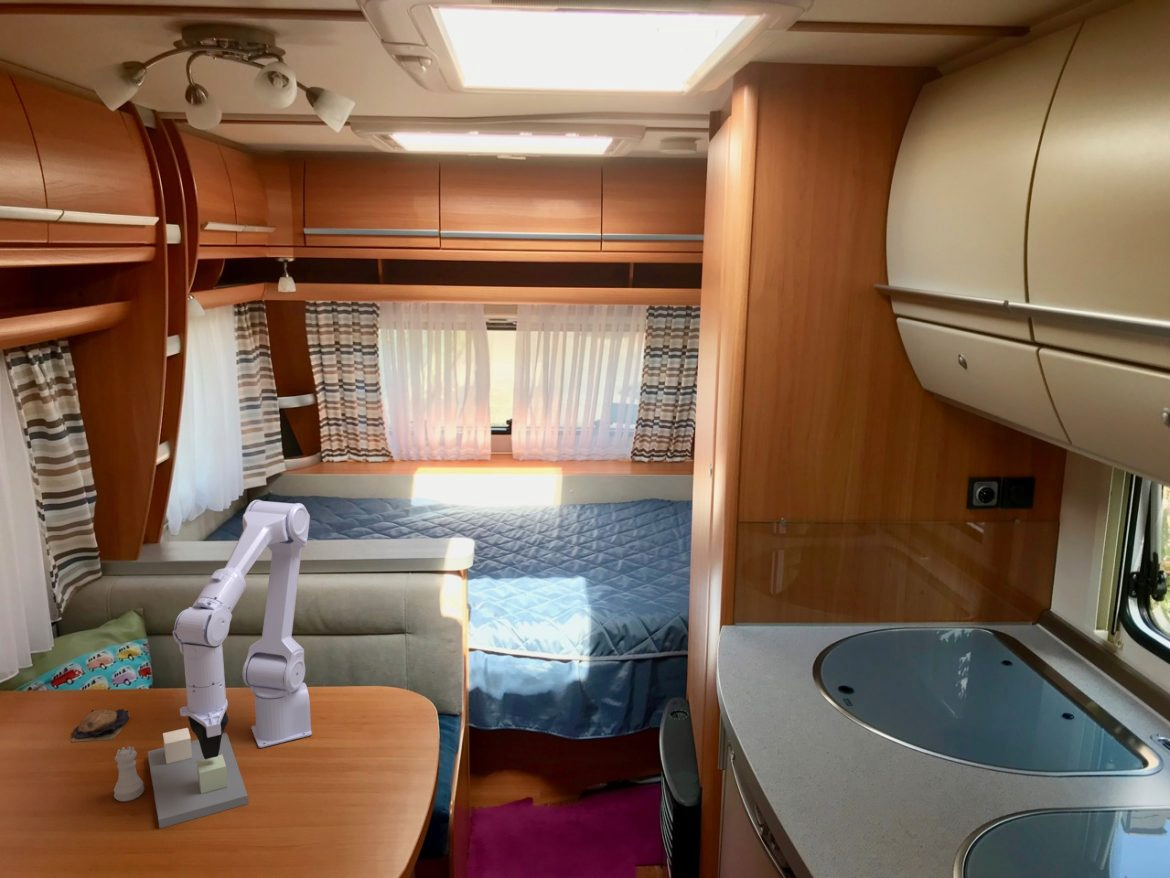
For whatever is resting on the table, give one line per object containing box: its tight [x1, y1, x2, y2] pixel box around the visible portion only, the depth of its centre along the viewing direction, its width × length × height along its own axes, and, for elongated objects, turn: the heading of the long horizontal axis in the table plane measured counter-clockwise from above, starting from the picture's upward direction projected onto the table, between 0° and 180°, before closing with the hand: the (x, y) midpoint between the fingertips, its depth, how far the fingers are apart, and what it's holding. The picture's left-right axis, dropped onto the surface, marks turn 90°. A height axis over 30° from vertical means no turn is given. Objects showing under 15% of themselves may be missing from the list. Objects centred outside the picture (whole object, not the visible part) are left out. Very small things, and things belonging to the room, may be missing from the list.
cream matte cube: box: [162, 727, 192, 764], centre depth 149 cm, size 4×4×4 cm
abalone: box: [70, 708, 131, 744], centre depth 161 cm, size 11×8×4 cm
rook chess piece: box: [113, 745, 145, 803], centre depth 140 cm, size 4×4×8 cm
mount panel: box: [147, 732, 249, 829], centre depth 145 cm, size 13×22×4 cm, turn 31°
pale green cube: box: [196, 755, 227, 794], centre depth 141 cm, size 4×4×4 cm
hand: (210, 755), depth 141 cm, fingers closed
